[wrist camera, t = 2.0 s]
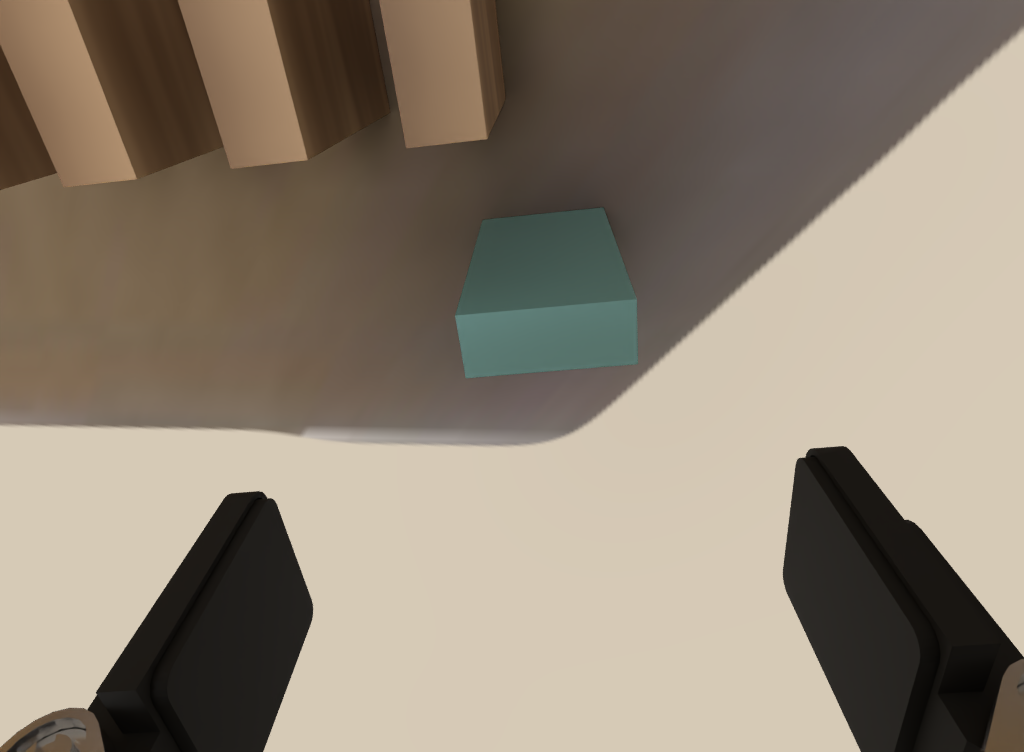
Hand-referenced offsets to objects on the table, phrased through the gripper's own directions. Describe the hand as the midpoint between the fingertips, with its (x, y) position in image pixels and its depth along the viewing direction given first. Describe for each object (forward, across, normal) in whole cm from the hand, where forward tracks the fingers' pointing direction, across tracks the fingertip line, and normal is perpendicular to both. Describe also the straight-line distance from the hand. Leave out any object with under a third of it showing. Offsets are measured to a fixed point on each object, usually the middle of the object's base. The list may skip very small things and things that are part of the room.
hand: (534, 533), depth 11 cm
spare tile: (+18, -1, 0) cm, 18 cm away
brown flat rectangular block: (+18, +6, -8) cm, 20 cm away
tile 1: (+17, +1, -8) cm, 19 cm away
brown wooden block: (+18, +10, -8) cm, 22 cm away
